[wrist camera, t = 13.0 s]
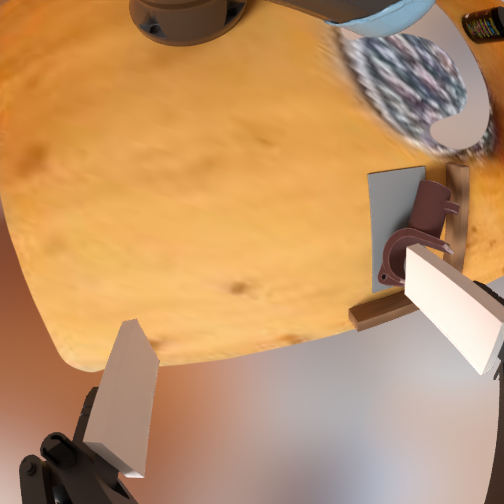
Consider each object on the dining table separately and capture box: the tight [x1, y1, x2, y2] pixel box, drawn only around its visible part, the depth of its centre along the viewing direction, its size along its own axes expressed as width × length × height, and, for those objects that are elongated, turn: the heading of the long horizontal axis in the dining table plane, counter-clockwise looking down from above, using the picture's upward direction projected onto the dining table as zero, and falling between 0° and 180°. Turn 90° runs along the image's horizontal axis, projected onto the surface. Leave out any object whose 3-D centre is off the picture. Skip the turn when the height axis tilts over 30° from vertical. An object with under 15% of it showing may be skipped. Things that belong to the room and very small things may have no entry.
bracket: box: [377, 180, 460, 287], centre depth 38 cm, size 6×17×10 cm
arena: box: [349, 163, 469, 332], centre depth 41 cm, size 24×23×4 cm
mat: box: [368, 166, 426, 293], centre depth 42 cm, size 20×11×1 cm, turn 11°
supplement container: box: [462, 6, 504, 44], centre depth 24 cm, size 7×7×10 cm
